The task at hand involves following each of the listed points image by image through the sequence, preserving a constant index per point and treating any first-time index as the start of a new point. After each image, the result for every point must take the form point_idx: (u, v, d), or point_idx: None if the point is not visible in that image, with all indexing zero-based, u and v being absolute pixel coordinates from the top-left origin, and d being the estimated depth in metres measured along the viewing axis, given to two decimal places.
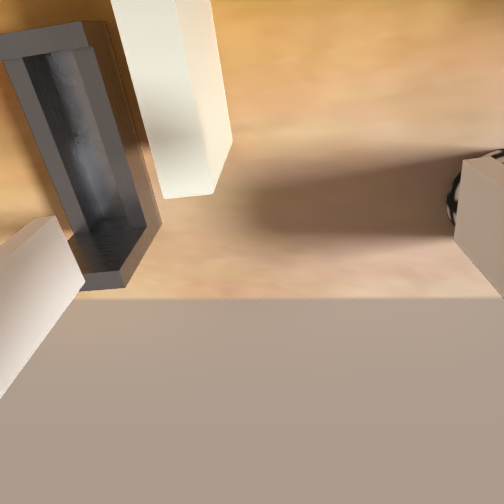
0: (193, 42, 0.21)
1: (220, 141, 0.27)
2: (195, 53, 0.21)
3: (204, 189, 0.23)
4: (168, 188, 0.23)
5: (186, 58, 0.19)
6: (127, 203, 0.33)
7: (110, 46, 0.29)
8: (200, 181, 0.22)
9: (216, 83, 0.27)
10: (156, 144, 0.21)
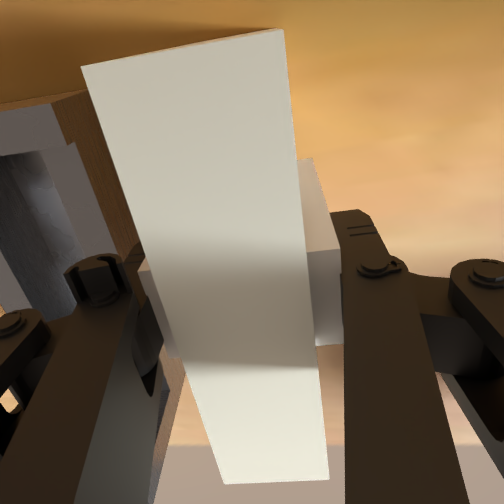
0: None
1: None
2: None
3: (312, 472, 0.11)
4: (234, 470, 0.11)
5: None
6: None
7: None
8: (306, 462, 0.10)
9: None
10: (215, 409, 0.09)
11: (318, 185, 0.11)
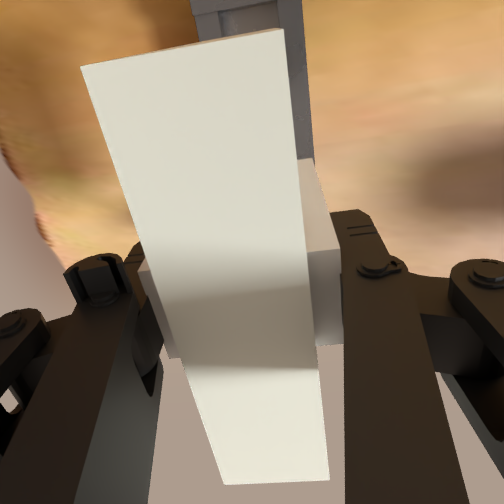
0: None
1: None
2: None
3: (312, 473, 0.11)
4: (235, 470, 0.11)
5: None
6: None
7: None
8: (306, 463, 0.10)
9: None
10: (215, 409, 0.09)
11: (318, 185, 0.11)
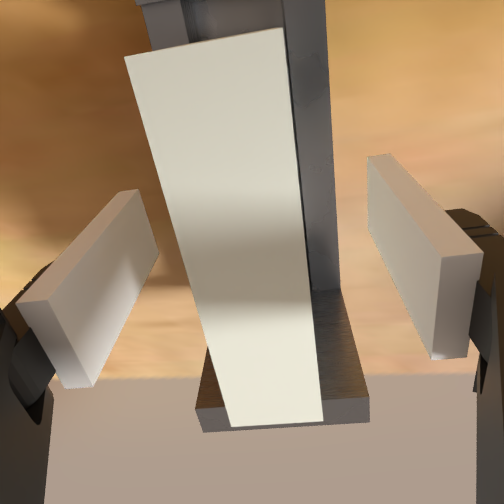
0: None
1: None
2: None
3: (308, 414, 0.12)
4: (240, 413, 0.12)
5: (301, 215, 0.09)
6: (316, 253, 0.20)
7: None
8: (302, 405, 0.12)
9: None
10: (224, 354, 0.11)
11: (415, 182, 0.10)
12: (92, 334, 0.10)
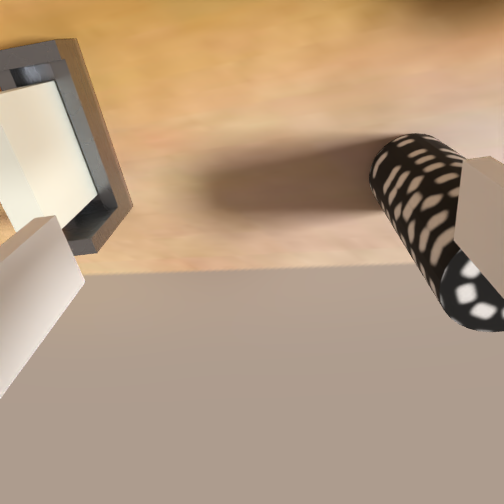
0: (29, 134, 0.30)
1: (77, 192, 0.36)
2: (32, 140, 0.31)
3: None
4: None
5: (14, 150, 0.29)
6: (100, 187, 0.39)
7: (81, 58, 0.36)
8: None
9: (74, 149, 0.37)
10: (6, 204, 0.31)
11: None
12: None
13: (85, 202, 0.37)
